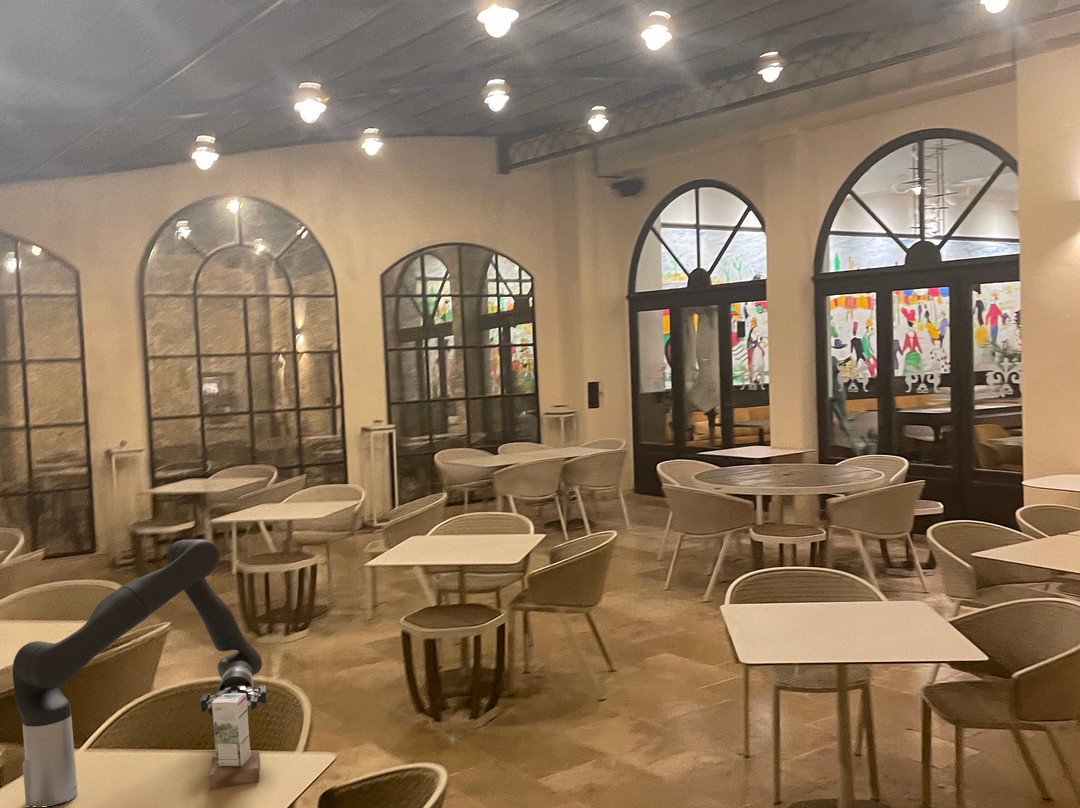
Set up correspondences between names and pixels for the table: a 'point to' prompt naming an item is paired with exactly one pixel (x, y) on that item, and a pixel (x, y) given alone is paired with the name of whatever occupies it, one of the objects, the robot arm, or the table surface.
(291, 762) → the table surface
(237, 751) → the syrup box
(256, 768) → the brown box
